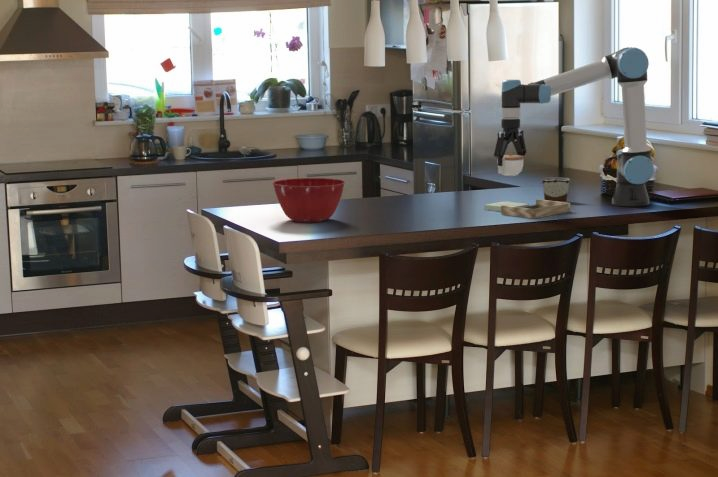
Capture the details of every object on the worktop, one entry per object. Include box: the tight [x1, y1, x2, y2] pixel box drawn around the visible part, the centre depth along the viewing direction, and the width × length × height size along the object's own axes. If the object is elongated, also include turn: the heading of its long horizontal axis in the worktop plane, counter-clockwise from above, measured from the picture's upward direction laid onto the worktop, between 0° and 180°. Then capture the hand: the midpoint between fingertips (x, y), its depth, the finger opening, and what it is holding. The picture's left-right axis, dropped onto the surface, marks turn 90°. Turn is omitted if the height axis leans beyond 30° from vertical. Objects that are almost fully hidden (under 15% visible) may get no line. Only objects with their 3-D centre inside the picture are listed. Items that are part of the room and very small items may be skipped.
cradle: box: [500, 199, 571, 219], centre depth 464 cm, size 16×23×4 cm
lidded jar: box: [496, 151, 525, 177], centre depth 470 cm, size 11×11×9 cm
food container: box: [540, 176, 571, 203], centre depth 495 cm, size 12×6×10 cm, turn 84°
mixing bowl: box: [272, 177, 346, 224], centre depth 454 cm, size 28×28×16 cm
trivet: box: [483, 200, 530, 213], centre depth 475 cm, size 13×13×2 cm
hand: (510, 172), depth 471 cm, fingers closed on lidded jar, 11 cm apart
